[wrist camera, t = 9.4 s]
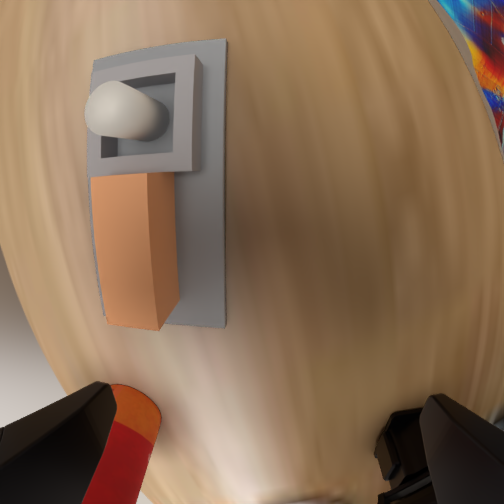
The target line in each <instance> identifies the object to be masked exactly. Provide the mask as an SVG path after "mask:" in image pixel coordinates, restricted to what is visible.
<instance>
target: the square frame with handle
mask: <svg viewBox="0 0 504 504" xmlns="http://www.w3.org/2000/svg"><path fill="white" fill-rule="evenodd" d="M203 66H204V65H203V64H202V63H201V61H200V60H199V58H198V57H197V56H196V54H190V55H181V56H173V57H166V58H159V59H153V60H147V61H141V62H136V63H131V64H126V65H121V66H117V67H112V68H108V69H104V70H100V71H96V72H92V74H91V84H90V95H91V94H92V92H93V91H94V90H95V89H96V88H97V87H98V86H100V85H101V84H103V83H105V82H108V81H119V82H122V83H124V84H126V85H128V86H130V87H132V88H141V87H147V86H154V85H162V84H170V83H175V95H174V123H173V152H171V153H155V154H142V155H130V156H119V157H117V148H118V138H117V137H110V136H102V135H97V134H95V133H93V132H92V131H91V130H90V129H89V128H88V130H87V177H91V200H92V216H93V228H94V239H95V248H96V256H97V264H98V272H99V279H100V285H101V291H102V297H103V303H104V308H105V314H106V319H107V324H110V325H117V326H124V327H132V328H139V329H147V330H156V331H159V330H160V329H161V327H162V326H163V324H164V323H165V321H166V320H167V318H168V317H169V315H170V314H171V312H172V311H173V309H174V308H175V306H176V305H177V303H178V302H179V301H180V295H179V282H178V267H177V249H176V227H175V192H174V172H177V171H201V123H202V89H203ZM90 95H89V97H90ZM96 176H98V177H96Z"/></svg>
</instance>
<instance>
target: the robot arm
mask: <svg viewBox="0 0 504 504" xmlns="http://www.w3.org/2000/svg"><path fill="white" fill-rule="evenodd" d="M116 412H117V403H116V400H115V397H114V394H113V391H112V388H111V386H110V385H109V384H108V383H104V382H100V381H96V382H94V383H92V384H90V385H88V386H86V387H84V388H82V389H80V390H78V391H76V392H74V393H72V394H70V395H68V396H66V397H64V398H62V399H60V400H59V401H56V402H54V403H52V404H50V405H48V406H46V407H44V408H42V409H40V410H38V411H36V412H34V413H32V414H30V415H27V416H25V417H23V418H21V419H19V420H17V421H15V422H13V423H11V424H8V425H6V426H5V427H2V428H0V504H82V502H83V499H84V497H85V494H86V492H87V490H88V487H89V485H90V482H91V480H92V478H93V475H94V473H95V471H96V469H97V466H98V464H99V462H100V459H101V457H102V455H103V452H104V449H105V447H106V443H107V440H108V437H109V434H110V430H111V427H112V424H113V421H114V418H115V415H116ZM374 456H375V458H378V461H379V465H380V468H381V472H382V476H383V479H384V480H385V481H388V480H389V482H390V486H391V490H390V491H388V492H385V493H384V492H383V493H381V494H379V495H378V503H377V504H504V431H502V430H500V429H499V428H497V427H496V426H494V425H492V424H491V423H489V422H488V421H486V420H484V419H483V418H481V417H480V416H478V415H476V414H475V413H473V412H472V411H470V410H468V409H467V408H465V407H464V406H462V405H460V404H459V403H457V402H456V401H454V400H453V399H451V398H449V397H448V396H446V395H445V394H443V393H439V394H433V395H430V396H429V397H428V399H427V401H426V403H425V406H424V408H422V409H416V410H410V411H403V412H396V413H394V414H392V415H391V417H390V419H389V421H388V424H387V426H386V428H385V431H384V432H383V434H382V435H381V438H380V440H379V442H378V444H377V446H376V448H375V452H374Z"/></svg>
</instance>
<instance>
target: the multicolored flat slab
mask: <svg viewBox="0 0 504 504" xmlns="http://www.w3.org/2000/svg"><path fill="white" fill-rule="evenodd" d="M428 1H429V2H430V4H431V5H432V7H433V8H434V10H435V11H436V13H437V14H438V16H439V17H440V19H441V21H442V22H443V24H444V25H445V27H446V29H447V30H448V32H449V34H450V35H451V37H452V39H453V41H454V42H455V44H456V46H457V48H458V50H459V52H460V53H461V55H462V57H463V59H464V61H465V63H466V65H467V67H468V69H469V71H470V73H471V75H472V78H473V80H474V82H475V84H476V86H477V89H478V91H479V93H480V96H481V98H482V100H483V103H484V105H485V108H486V110H487V113H488V116H489V118H490V121H491V124H492V127H493V130H494V133H495V136H496V139H497V142H498V145H499V148H500V152H501V155H502V159H503V162H504V0H428Z"/></svg>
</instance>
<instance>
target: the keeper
mask: <svg viewBox="0 0 504 504" xmlns="http://www.w3.org/2000/svg"><path fill="white" fill-rule="evenodd" d="M190 54H196V56H197V57H198V58H199V60H200V61H201V63H202V64H203V65H204V66H203V89H202V123H201V171H177V172H174V192H175V227H176V249H177V267H178V282H179V295H180V301H179V302H178V303H177V305H176V306H175V308H174V309H173V311H172V312H171V314H170V315H169V317H168V318H167V320H166V321H165V323H166V324H176V325H187V326H199V327H213V328H225V326H226V290H225V111H226V71H227V40H226V39H212V40H201V41H191V42H183V43H175V44H168V45H162V46H156V47H150V48H145V49H140V50H135V51H130V52H125V53H121V54H117V55H113V56H109V57H105V58H101V59H97V60H94V63H93V71H92V72H96V71H100V70H104V69H108V68H112V67H117V66H121V65H126V64H131V63H136V62H141V61H147V60H153V59H159V58H166V57H173V56H181V55H190ZM174 95H175V83H170V84H162V85H154V86H147V87H141V88H132V87H130V86H128V85H126V84H124V83H122V82H119V81H108V82H105V83H103V84H101V85H100V86H98V87H97V88H96V89H95V90H94V91H93V92H92V94H91V95H90V97H89V98H88V101H87V103H86V106H85V121H86V124H87V126H88V128H89V129H90V130H91V131H92V132H93V133H95V134H97V135H102V136H110V137H117V138H118V148H117V157H119V156H130V155H142V154H155V153H171V152H173V123H174ZM96 177H98V176H96ZM88 189H89V207H90V221H91V232H92V242H93V251H94V259H95V267H96V274H97V280H98V287H99V293H100V298H101V304H102V309H103V315H104V316H106V314H105V308H104V303H103V297H102V291H101V285H100V279H99V272H98V264H97V256H96V248H95V239H94V228H93V216H92V200H91V177H88Z"/></svg>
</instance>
